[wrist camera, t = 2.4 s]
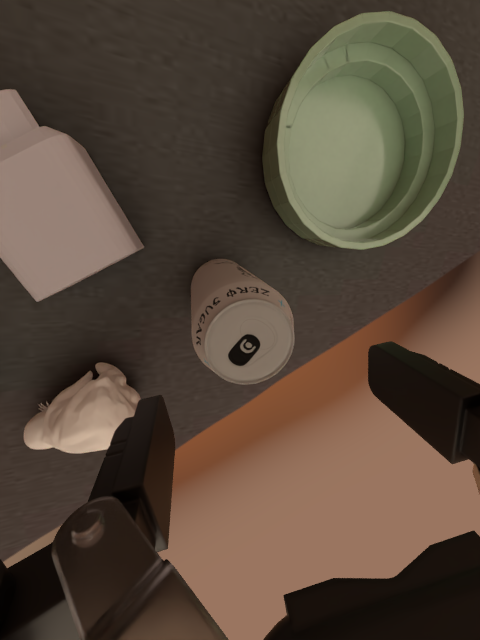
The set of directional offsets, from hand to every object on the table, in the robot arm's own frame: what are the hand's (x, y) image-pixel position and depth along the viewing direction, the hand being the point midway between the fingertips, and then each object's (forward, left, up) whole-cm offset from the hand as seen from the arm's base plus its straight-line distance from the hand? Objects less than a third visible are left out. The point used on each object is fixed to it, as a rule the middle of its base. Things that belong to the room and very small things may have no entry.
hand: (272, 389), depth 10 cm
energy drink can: (0, 0, -19) cm, 19 cm away
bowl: (-10, +14, -19) cm, 26 cm away
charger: (-11, -13, -19) cm, 26 cm away
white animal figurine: (+9, -16, -19) cm, 27 cm away
